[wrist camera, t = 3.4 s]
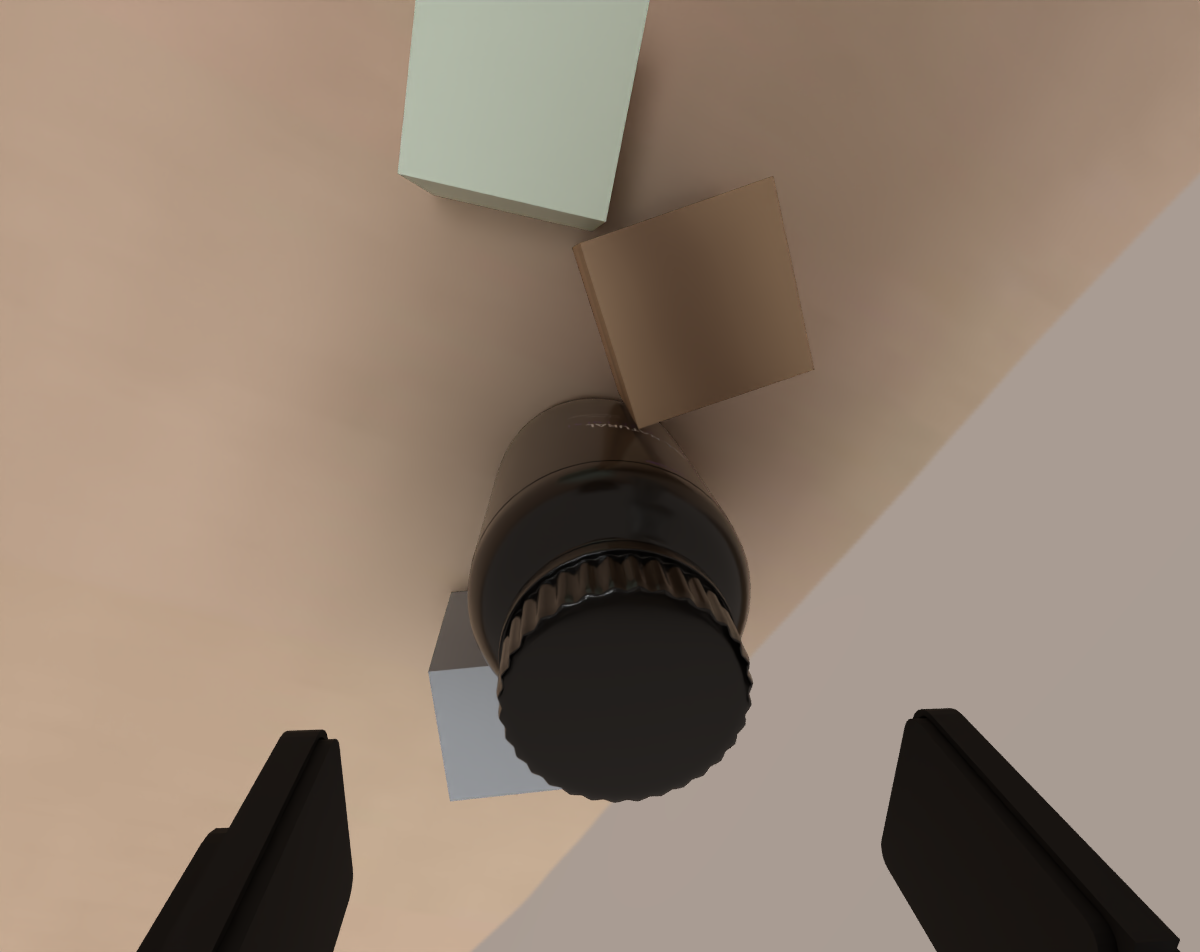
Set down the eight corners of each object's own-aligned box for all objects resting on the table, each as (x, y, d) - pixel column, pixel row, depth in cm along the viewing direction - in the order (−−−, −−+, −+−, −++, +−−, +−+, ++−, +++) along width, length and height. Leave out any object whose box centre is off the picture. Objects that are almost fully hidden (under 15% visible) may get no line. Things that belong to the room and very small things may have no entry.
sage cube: (626, 55, 19) (652, -15, 14) (592, 231, 20) (605, 222, 16) (455, 9, 18) (423, -81, 13) (433, 195, 20) (397, 173, 15)
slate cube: (583, 579, 24) (593, 655, 19) (591, 689, 26) (602, 784, 21) (451, 590, 24) (428, 671, 19) (467, 701, 26) (449, 801, 21)
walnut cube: (720, 196, 20) (773, 176, 16) (755, 346, 22) (814, 369, 17) (571, 247, 20) (579, 243, 16) (618, 393, 22) (638, 429, 17)
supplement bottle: (660, 369, 22) (784, 485, 10) (701, 543, 24) (840, 794, 13) (468, 423, 22) (384, 597, 10) (526, 592, 24) (509, 886, 13)
